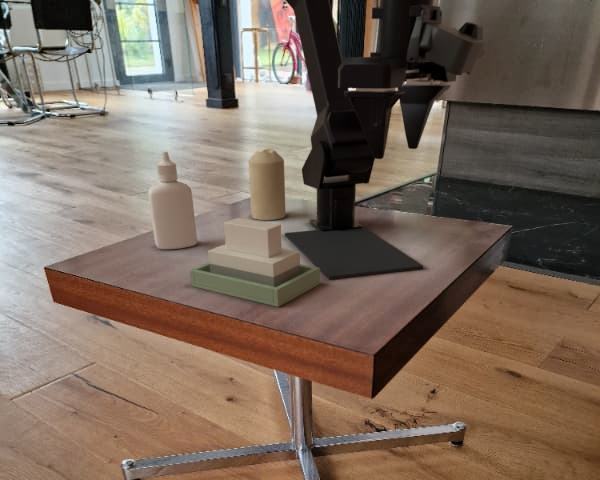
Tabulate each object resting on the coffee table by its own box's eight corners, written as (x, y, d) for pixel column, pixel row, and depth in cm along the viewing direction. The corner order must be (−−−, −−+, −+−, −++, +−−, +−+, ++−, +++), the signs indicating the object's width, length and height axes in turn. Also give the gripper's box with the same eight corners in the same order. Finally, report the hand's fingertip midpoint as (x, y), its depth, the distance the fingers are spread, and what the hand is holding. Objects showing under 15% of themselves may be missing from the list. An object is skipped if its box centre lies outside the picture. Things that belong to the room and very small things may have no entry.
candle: (264, 211, 96) (261, 146, 90) (291, 214, 93) (290, 148, 88) (244, 218, 92) (240, 151, 86) (273, 222, 89) (270, 153, 84)
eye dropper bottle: (161, 241, 81) (148, 149, 75) (200, 241, 80) (190, 149, 74) (152, 250, 77) (137, 154, 71) (192, 250, 77) (181, 154, 70)
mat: (284, 235, 82) (284, 232, 82) (362, 228, 85) (362, 225, 85) (329, 279, 66) (329, 276, 66) (423, 268, 69) (423, 265, 69)
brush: (210, 280, 65) (205, 223, 62) (238, 268, 69) (234, 213, 65) (274, 295, 61) (272, 234, 57) (300, 281, 64) (299, 223, 61)
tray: (191, 286, 65) (189, 269, 64) (236, 266, 71) (235, 251, 70) (278, 307, 59) (277, 289, 58) (320, 283, 65) (320, 267, 64)
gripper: (444, -17, 50) (426, 171, 58) (510, -4, 63) (488, 148, 71) (336, -9, 56) (334, 162, 64) (417, 2, 69) (406, 142, 77)
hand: (396, 153), depth 69 cm, fingers open, 9 cm apart
